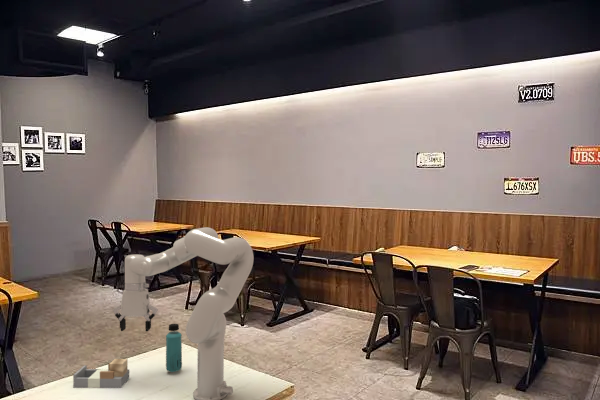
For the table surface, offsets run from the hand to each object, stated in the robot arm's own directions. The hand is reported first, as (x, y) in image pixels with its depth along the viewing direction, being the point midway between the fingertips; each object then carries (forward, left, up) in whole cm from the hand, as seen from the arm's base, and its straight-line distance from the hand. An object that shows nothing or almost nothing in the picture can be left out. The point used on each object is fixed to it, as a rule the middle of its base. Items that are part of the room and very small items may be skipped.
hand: (135, 330), depth 181 cm
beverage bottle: (-9, -14, -21) cm, 26 cm away
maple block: (+6, +2, -17) cm, 18 cm away
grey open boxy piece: (+12, +4, -21) cm, 24 cm away
